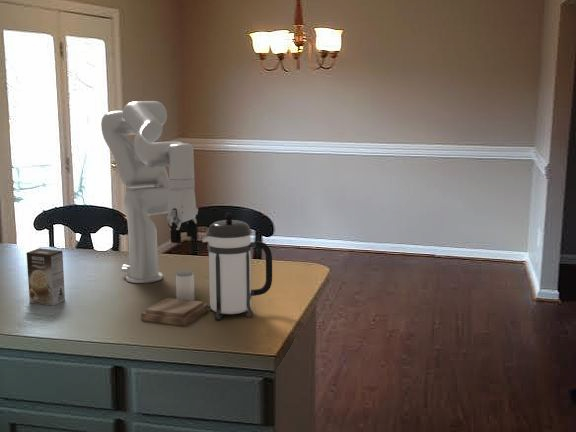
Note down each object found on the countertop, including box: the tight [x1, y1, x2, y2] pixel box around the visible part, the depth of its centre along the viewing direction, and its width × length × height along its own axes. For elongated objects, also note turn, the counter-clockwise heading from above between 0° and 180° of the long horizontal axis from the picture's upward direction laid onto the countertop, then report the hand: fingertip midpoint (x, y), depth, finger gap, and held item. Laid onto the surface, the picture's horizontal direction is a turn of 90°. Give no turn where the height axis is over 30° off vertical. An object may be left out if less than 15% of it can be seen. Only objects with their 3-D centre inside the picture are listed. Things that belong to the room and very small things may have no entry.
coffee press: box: [202, 212, 273, 321], centre depth 202 cm, size 17×16×30 cm
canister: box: [175, 269, 195, 301], centre depth 217 cm, size 6×6×9 cm
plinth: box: [140, 297, 209, 327], centre depth 202 cm, size 14×14×3 cm
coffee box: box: [26, 247, 66, 306], centre depth 214 cm, size 9×6×16 cm
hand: (184, 239), depth 214 cm, fingers open, 9 cm apart
